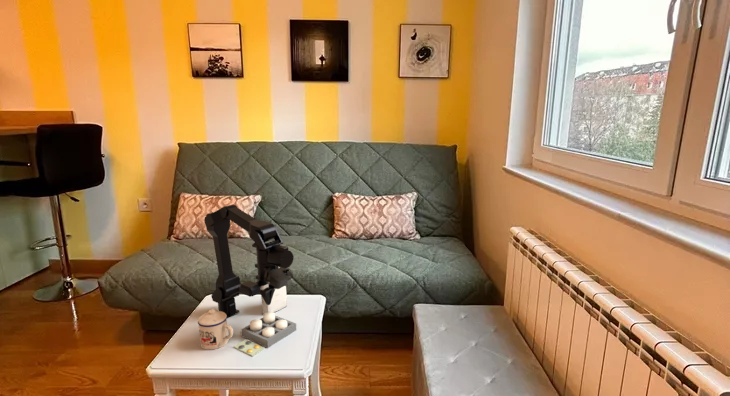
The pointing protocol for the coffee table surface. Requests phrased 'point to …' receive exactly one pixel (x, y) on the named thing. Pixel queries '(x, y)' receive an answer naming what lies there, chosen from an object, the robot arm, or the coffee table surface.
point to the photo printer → (276, 301)
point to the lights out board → (257, 337)
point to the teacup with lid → (214, 329)
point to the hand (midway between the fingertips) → (268, 304)
